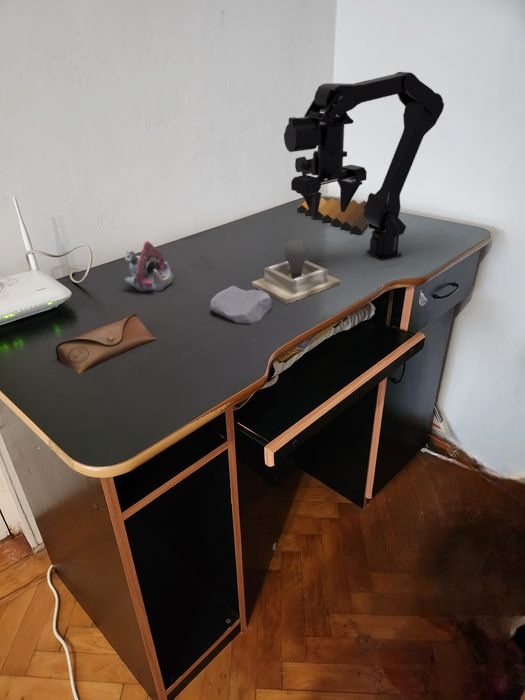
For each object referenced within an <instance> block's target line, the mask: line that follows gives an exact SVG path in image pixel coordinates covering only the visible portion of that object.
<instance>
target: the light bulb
mask: <svg viewBox="0 0 525 700" xmlns="http://www.w3.org/2000/svg"><path fill="white" fill-rule="evenodd" d="M309 252H310V250H309V246H308V245H307V243H306V242H305V241H304V240H302V239H300V238H299V239H298V238H295V239H291V240H289V241H288V242H287V243H286V244H285V246H284V252H283V253H284V257H285V259H286V261H288V262H289V265H290V271H291V277H292V279H295V278H298V277H301V275H302V271H303V265H304V262H305V260H306V261H307V259H308V257H309Z"/></svg>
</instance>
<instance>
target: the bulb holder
mask: <svg viewBox="0 0 525 700" xmlns="http://www.w3.org/2000/svg"><path fill="white" fill-rule="evenodd" d="M263 270H264V277H262V278H258V279H257V280H254V281H253V280H252V281H251V285H252V287H254V288H256V290H257V289H258V290H260V291H264V292H265V293H268V294H269V296H270V297H272V298H273V299H276V300H277V299H278V301H279V300H280V301H279V302H281V303H283V304H285V305H289V304H291V303H293V302H297V301H299V300H302V299H304V298H307V297H310V296H312V294H313V295H315V293H316V294H318V293H321V292H323V291H322V290H324V291H325V289H326V290H328V289H327V288H329V289H331V288H330V287H332V288H334V287H336V286H335V285H337V286H339V285H338V284H340V285H341V279H338V278H336V277H333V276H331V275H329V274H328V272H329V270H328V269H327V268H325V267H322V266H321V265H318V264H316V263H313V262H310V261H308V260H307V259H306V260H305V262H304V265H303V271H302V275H301V277H298V278H295V279H292V277H291V271H290V265H289V262H288V261H287V260H286V261H283V262H279V263H277V264H273V265H270V266H267V267H265V268H263ZM333 286H334V287H333ZM320 291H321V292H320ZM317 292H318V293H317ZM309 295H310V296H309ZM296 300H297V301H296ZM288 303H289V304H288Z"/></svg>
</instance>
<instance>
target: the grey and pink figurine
mask: <svg viewBox="0 0 525 700" xmlns="http://www.w3.org/2000/svg"><path fill="white" fill-rule="evenodd" d="M152 257H153V258H156V260H154V259H153V258H152ZM124 260H125V261H127V262H128V263H129V266H128V267H129V271H130V274H131V276H127V277H123V281H124V282H126V283H127V284H129V286H132V287H134V288H135V289H136V290H137V291H139V292H147V291H149V292H156V293H157V292H161V291H164V289H166V288H167V287H168V286H170V285H171V283H172V281H173V278H174V276H173V273H172V272H173V271H172V270H173V268H172V267H171V266H170V265H169V263H168V262H167V261H164V260H165V259H164V255H162V253H161V252H160V250H158V248H156V247H155V246H154V245H153V244H152V242H150V241H148V240H146V241H145V242H144V244H143V248H142V249H141V253H140V255H135V251H133V250H126V254H125V256H124Z"/></svg>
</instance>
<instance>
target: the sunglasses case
mask: <svg viewBox="0 0 525 700" xmlns="http://www.w3.org/2000/svg"><path fill="white" fill-rule="evenodd" d="M157 340H158V337H156V336H154V335H153V334H152V333H151V332H150V331H149V329H148V328H147V327H146V326H145V324H144V323H143V322H142V320H140V319H139V317H138V315H137V314H136V313H134V314H131V315H129V316H127V317H125V318H123V319H120V320H118V321H115V322H112V323H110V324H107V325H103V326H100V327H98V328H96V329H94V330H91V331H89V332H86V333H83V334H81V335H79V336H77V337H75V338H71V339H67V340H65V341H64V340H63V341H62V342H60V343H58V344H57V345H56V347H55V354H56V358H57V360H59V361H60V362H62V363H63V364H65V365H66V366H67V367H68V368H70V369H72V370H73V371H75V372H77V374H81V373H84V372H86V371H88V370H90V369H91V368H93V367H95V366H97V365H99V364H102V363H104V362H106V361H108V360H111V359H113V358H115V357H118V356H119V355H121V354H124V353H127V352H129V351H131V350H133V349H136V348H138V347H140V346H143V345H146V344H148V343H152V342H154V341H157Z"/></svg>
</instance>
